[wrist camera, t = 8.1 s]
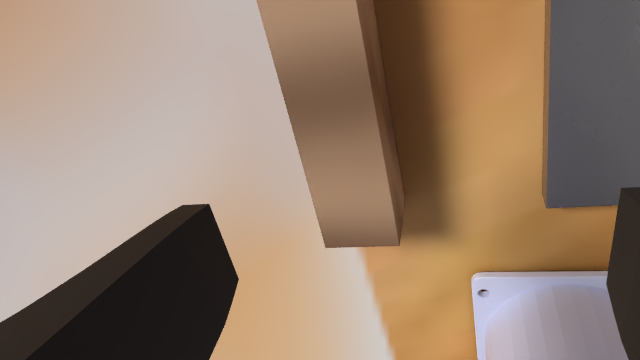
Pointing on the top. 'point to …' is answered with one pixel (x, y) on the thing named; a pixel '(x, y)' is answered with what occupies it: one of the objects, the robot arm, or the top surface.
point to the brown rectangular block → (339, 116)
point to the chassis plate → (591, 101)
